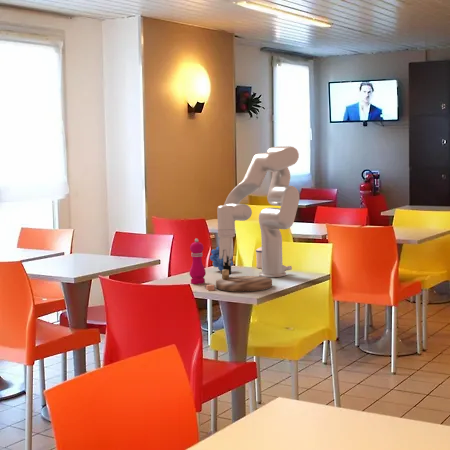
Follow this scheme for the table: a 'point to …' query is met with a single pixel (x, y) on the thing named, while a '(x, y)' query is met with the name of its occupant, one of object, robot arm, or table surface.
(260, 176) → the robot arm
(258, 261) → the teacup with lid
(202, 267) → the pepper mill
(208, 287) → the block
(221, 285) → the disc
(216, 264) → the blue lumpy piece
